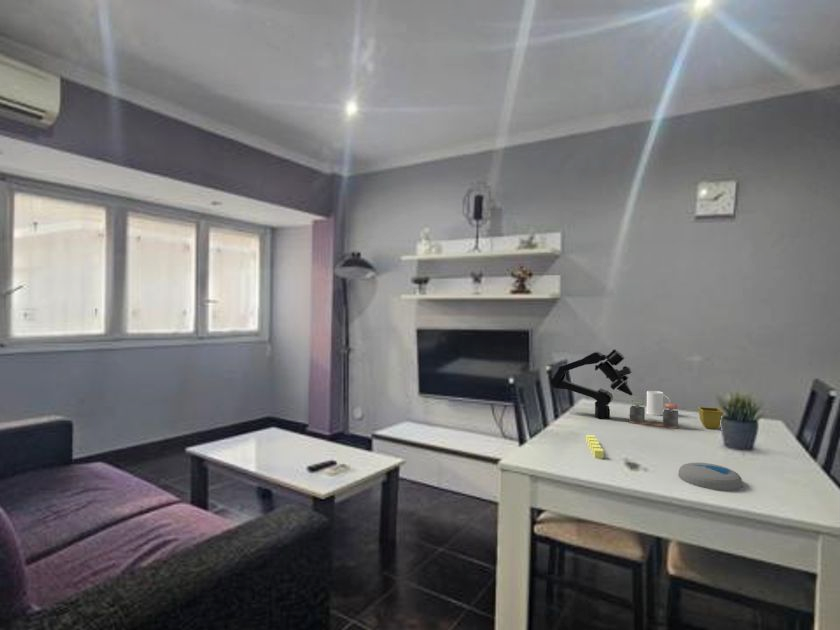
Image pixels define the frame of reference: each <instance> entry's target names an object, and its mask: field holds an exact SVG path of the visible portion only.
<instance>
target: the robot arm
mask: <svg viewBox="0 0 840 630" xmlns="http://www.w3.org/2000/svg"><path fill="white" fill-rule="evenodd" d="M624 360H625V356H624V355H623V354H622V353H620V352H619V351H618V350H616V349H615V348H614V349H613V350H611V352H610V353H608V354H602V353H601V352H599V351H595V352H592V353H590V354H588V355H586V356H584V357H583V358H580V359H577V360H575V361H572V362H568V363H566V364H565V363H563V364H561V365H559V367H558V369H557V371H556V373H555V375H554V377H553V378H551V380H550V385H551V388H554V389H559V390H568V391H571V392H573V393H577V394H581V395H583V396H586V397H589V398H592V399H594V400H595V402H594V415H593V417H595V418H597V419H599V420H603V419H604V420H607V419H611V417H610V416H611V412H610V411H611V409H610V406H609V404H611V402H613V400H614V396H613V394H612V393H611V392H610V391H609V390H606V389H604V388H599V389H598V390H595V389H592V388H589V387H586V386H583V385H580V384H576V383H574V382H570V381H569V380H567V379H566V378H565V377H566V375H567V371H571V370H573V369H577V368H579V367H582V366H586V365H587V366H588V365H592V364H593V365H594V364H596V365H594V370H595V371H598V370H600V371H601V372H602V374H604V376H605V378H606V379H608V380H609V381H610V382H611V384H610V388H611V389H612V391H614V390H615V389H616V390H618V391H621V392H622V393H625V394H627V395H629V396H632V395H634V394H633V392H632V391H631V388H630V387H629V385H628V379H630V377H629V376H628V375H631V374H632V369H631V368H630V367H629V366H627V365H624V366H622V368H621V369H620V370H619V369H617V368H616V369H615V367H613V366H618V365H619V364H620V363H621V362H622V361H624ZM598 363H599V364H598Z"/></svg>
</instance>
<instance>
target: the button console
mask: <svg viewBox="0 0 840 630" xmlns="http://www.w3.org/2000/svg"><path fill="white" fill-rule="evenodd" d="M645 409H646V408H645V406H639V408H636V405H631V406H630V407H629V421H628V424H632V425H641V426H647V427H648V426H649V427H657V428H663V429H671V430H678V428H679V427H678V426H679V410H675V409H673V412H669V409H664V410H663V415H662V421H660V420H659V421H658V420H651V419H646V417H645V414H646V410H645Z"/></svg>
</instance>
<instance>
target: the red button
mask: <svg viewBox="0 0 840 630" xmlns="http://www.w3.org/2000/svg"><path fill="white" fill-rule="evenodd" d="M663 407H665V408H666V409H668V410H669V412H673V410H676V409H678V404H676V403H671V402H670V403H669V402H666V403H663Z"/></svg>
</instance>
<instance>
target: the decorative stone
mask: <svg viewBox="0 0 840 630" xmlns="http://www.w3.org/2000/svg"><path fill="white" fill-rule="evenodd" d="M678 477H679V479H680V480H681V481H683V482H685V483H686V484H689V485H691V486H695V487H698V488H702V489H708V490H713V491H721V492H732V491H739V490H741V489H742V488H743V479H742V477H741V475H740V474H739V473H738V472H736V471H734V470H732V469H731V468H728V467H726V466H722V465H719V464H715V463H714V464H713V463H709V462H708V463H707V462H688V463H684V464H682V465H681V466H680V467H679V469H678Z"/></svg>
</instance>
